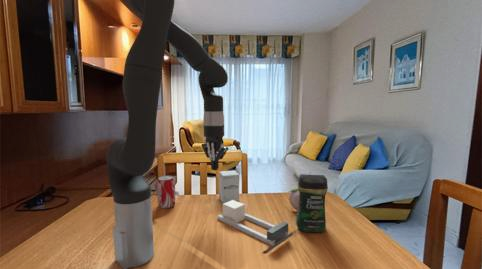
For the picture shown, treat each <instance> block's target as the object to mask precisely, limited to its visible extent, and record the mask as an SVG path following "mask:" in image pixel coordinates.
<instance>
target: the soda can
mask: <svg viewBox="0 0 482 269" xmlns="http://www.w3.org/2000/svg"><path fill="white" fill-rule="evenodd" d="M157 178H158V180H157V181H156V191H157V192H156V194H157V205H158V207H159V208H162V209H170V208H172V207H174V206H175V205H176V182H175V179H174V176H173V175H161V176H159V177H157Z"/></svg>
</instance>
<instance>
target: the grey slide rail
mask: <svg viewBox="0 0 482 269" xmlns="http://www.w3.org/2000/svg"><path fill="white" fill-rule="evenodd" d="M217 220H218V221H220V222H223V223H224V224H226V225H229V226H231V227H232V228H235V229H236V230H238V231H240V232H241V231H242V232H243V233H245V234H247V235H249V236H252V237H253V238H256V239H258V240H260V241H262V242H264V243H266V244H268V245H270V247H268V248H266V249H265V250H263V253H264V254H267V253H270V251H272V250H273V249H275V248H276V247H278V246H280V244H283V242H284V241H286V240H288V239H289V238H291V237H292V236H293V235H294V231H291V232H290V233H289V223H288V222H286V221H281V222H279V223H277V224H276V225H275V224H273V223H270V222H267V221H266V220H263V219H261V218H259V217H255V216H253V215H251V214H248V213H245V219H244V220H247V221H250V222H252V223H254V224H256V225H259V226H261V227H263V228H266V229H268V230H266V235H265V234H263V233H262V232H260V231H258V230H255V229H253V228H250V227H248V226H246V225H244V224H243V223H240V222H238V223H237V222H235V221H233V220H231V219H229V218H227V217H224V216H223V214H218V215H217Z"/></svg>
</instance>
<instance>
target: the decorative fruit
mask: <svg viewBox="0 0 482 269" xmlns="http://www.w3.org/2000/svg"><path fill="white" fill-rule="evenodd" d="M288 193H289V195H288V201H289V204H290V206H291V207H292V208H293V209H295V210H296V211H298V205H299V190H298V188H292V189H290V190H289V191H288Z"/></svg>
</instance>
